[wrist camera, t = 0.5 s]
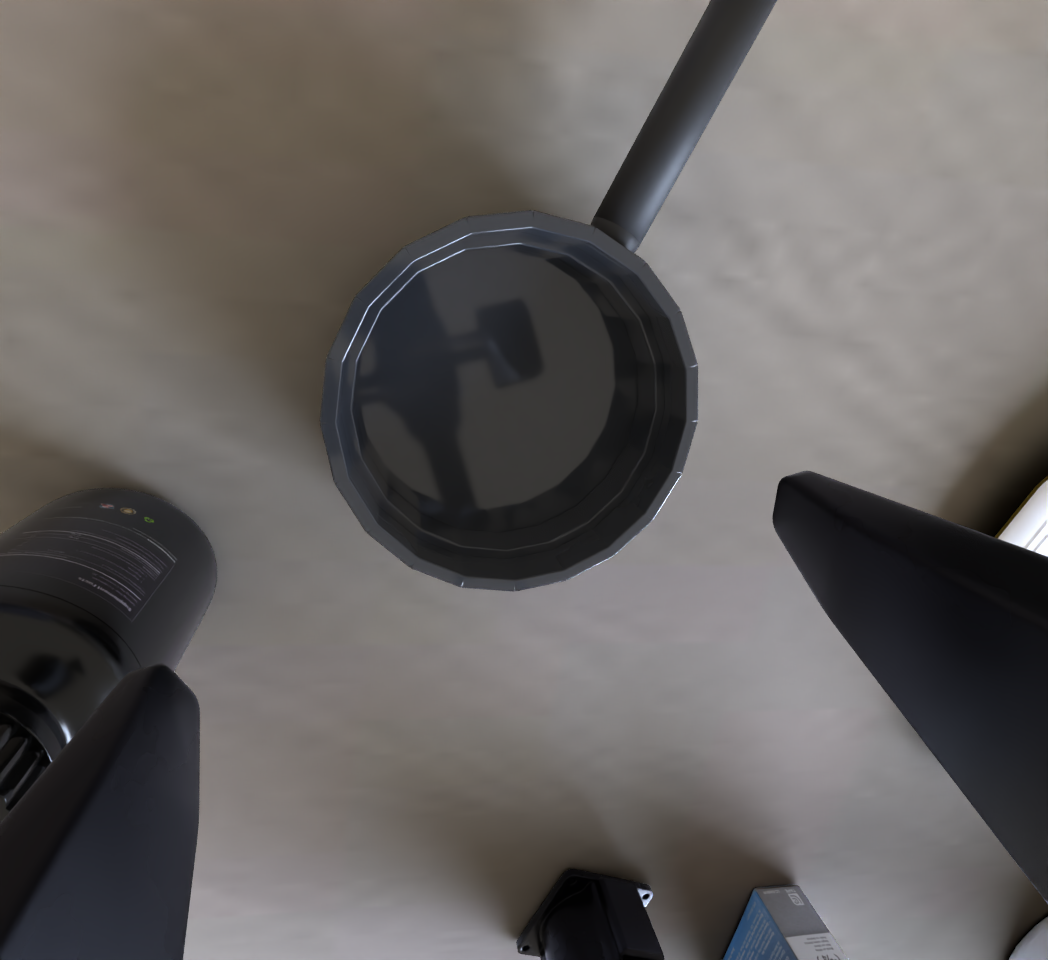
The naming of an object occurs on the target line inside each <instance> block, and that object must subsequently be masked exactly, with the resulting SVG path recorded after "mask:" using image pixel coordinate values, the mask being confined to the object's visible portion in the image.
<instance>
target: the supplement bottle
mask: <svg viewBox="0 0 1048 960" xmlns="http://www.w3.org/2000/svg"><path fill="white" fill-rule="evenodd" d="M216 582H217V566H216V560H215V555H214V552H213V550H212V547H211V545H210V543H209V541H208V539H207V537H206V536H205V534H204V533H203V531H202V530H201V529H200V528H199V526H198V525H197V524H196V523H195V522H194V521H193V520H192V519H191V518H190V517H189V516H187V515H186V514H185V513H184V512H182V511H181V510H180V509H178V508H177V507H175V506H173V505H172V504H170V503H168V502H166V501H164V500H162V499H160V498H157V497H155V496H152V495H149V494H146V493H143V492H138V491H134V490H127V489H118V488H100V489H90V490H85V491H79V492H76V493H72V494H69V495H66V496H64V497H61V498H59V499H57V500H55V501H53V502H51V503H49V504H47V505H45V506H44V507H42V508H41V509H39V510H37V511H36V512H34V513H33V514H31V515H30V516H28V517H26V518H25V519H23V520H22V521H20V522H19V523H17V524H16V525H14V526H13V527H11V528H10V529H8V530H6V531H5V532H3V533H2V534H0V823H1V822H2V820H3V819H4V818H5V817H6V816H7V814H8V813H9V812H10V811H11V810H12V809H13V807H14V806H15V805H16V804H17V803H18V801H19V800H20V799H21V798H22V797H23V796H24V794H25V793H26V792H27V791H28V790H29V788H30V787H31V786H32V785H33V784H34V783H35V781H36V780H37V779H38V778H39V777H40V775H41V774H42V773H43V772H44V771H45V770H46V768H47V767H48V766H49V765H50V764H51V762H52V761H53V760H54V759H55V758H56V757H57V755H58V754H59V753H60V752H61V751H62V749H63V748H64V747H65V746H66V745H67V744H68V742H69V741H70V740H71V739H72V738H73V736H74V735H75V734H76V733H77V732H78V731H79V729H80V728H81V727H82V726H83V725H84V723H85V722H86V721H87V720H88V719H89V718H90V716H91V715H92V714H93V713H94V712H95V710H96V709H97V708H98V707H99V706H100V704H101V703H102V702H103V701H104V700H105V699H106V697H107V696H108V695H109V694H110V693H111V691H112V690H113V689H114V688H115V687H116V686H117V684H118V683H119V682H120V681H121V680H122V679H123V678H124V677H125V676H126V675H127V674H128V673H130V672H132V671H134V670H137V669H141V668H144V667H147V666H151V665H154V664H160V663H162V664H165V665H167V666H169V667H170V668H171V669H172V670H173V671H175V669H176V667H177V665H178V663H179V661H180V660H181V658H182V656H183V654H184V652H185V650H186V648H187V647H188V645H189V643H190V641H191V639H192V637H193V635H194V634H195V632H196V630H197V628H198V626H199V624H200V622H201V621H202V619H203V617H204V615H205V613H206V611H207V609H208V607H209V605H210V603H211V600H212V598H213V595H214V592H215V588H216Z"/></svg>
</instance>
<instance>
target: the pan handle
mask: <svg viewBox="0 0 1048 960" xmlns="http://www.w3.org/2000/svg"><path fill="white" fill-rule="evenodd" d="M776 2H777V0H711V1H710V3H709V5H708V7H707V9H706V10H705V12H704V14H703V16H702V18H701V20H700V22H699V23H698V25H697V27H696V29H695V31H694V33H693V34H692V36H691V38H690V40H689V42H688V44H687V46H686V47H685V49H684V51H683V53H682V55H681V57H680V59H679V60H678V62H677V64H676V66H675V68H674V70H673V72H672V73H671V75H670V77H669V79H668V81H667V83H666V84H665V86H664V88H663V90H662V92H661V94H660V96H659V97H658V99H657V101H656V103H655V105H654V107H653V109H652V110H651V112H650V114H649V116H648V118H647V120H646V122H645V123H644V125H643V127H642V129H641V131H640V133H639V134H638V136H637V138H636V140H635V142H634V144H633V146H632V147H631V149H630V151H629V153H628V155H627V157H626V159H625V160H624V162H623V164H622V166H621V168H620V170H619V171H618V173H617V175H616V177H615V179H614V181H613V183H612V184H611V186H610V188H609V190H608V192H607V194H606V196H605V197H604V199H603V201H602V203H601V205H600V207H599V209H598V210H597V212H596V214H595V216H594V218H593V220H592V222H591V225H592V226H594V227H597V228H598V229H600V230H601V231H603V232H604V233H605V234H607V235H608V236H610V237H611V238H613V239H614V240H615V241H617V242H618V243H620V244H621V245H623V246H624V247H626V248H627V249H628V250H630V251H631V252H633V253H634V252H635V251H636V250H637V248H638V247H639V245H640V244H641V242H642V240H643V238H644V236H645V235H646V233H647V231H648V229H649V228H650V226H651V224H652V222H653V220H654V219H655V217H656V215H657V213H658V212H659V210H660V208H661V206H662V204H663V203H664V201H665V199H666V197H667V195H668V194H669V192H670V190H671V188H672V187H673V185H674V183H675V181H676V179H677V178H678V176H679V174H680V172H681V171H682V169H683V167H684V165H685V163H686V162H687V160H688V158H689V156H690V155H691V153H692V151H693V149H694V147H695V146H696V144H697V142H698V140H699V139H700V137H701V135H702V133H703V131H704V130H705V128H706V126H707V124H708V123H709V121H710V119H711V117H712V115H713V114H714V112H715V110H716V108H717V107H718V105H719V103H720V101H721V99H722V98H723V96H724V94H725V92H726V90H727V89H728V87H729V85H730V83H731V82H732V80H733V78H734V76H735V74H736V73H737V71H738V69H739V67H740V66H741V64H742V62H743V60H744V58H745V57H746V55H747V53H748V51H749V50H750V48H751V46H752V44H753V42H754V41H755V39H756V37H757V35H758V34H759V32H760V30H761V28H762V26H763V25H764V23H765V21H766V19H767V18H768V16H769V14H770V12H771V10H772V9H773V7H774V5H775V3H776Z"/></svg>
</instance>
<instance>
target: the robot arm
mask: <svg viewBox="0 0 1048 960" xmlns="http://www.w3.org/2000/svg"><path fill="white" fill-rule="evenodd" d="M773 525H774V528H775V531H776V533H777V534H778V536H779V538H780V539H781V541H782V543H783V544H784V546H785V548H786V549H787V551H788V552H789V554H790V556H791V557H792V559H793V561H794V562H795V564H796V566H797V567H798V569H799V571H800V572H801V574H802V575H803V577H804V579H805V580H806V582H807V584H808V585H809V587H810V589H811V590H812V592H813V594H814V595H815V597H816V598H817V600H818V602H819V603H820V605H821V606H822V608H823V609H824V611H825V612H826V614H827V615H828V617H829V618H830V619H831V621H832V622H833V624H834V625H835V626H836V628H837V629H838V630H839V632H840V633H841V634H842V636H843V637H844V638H845V639H846V641H847V642H848V643H849V645H850V646H851V647H852V649H853V650H854V651H855V653H856V654H857V655H858V656H859V658H860V659H861V660H862V662H863V663H864V664H865V666H866V667H867V668H868V670H869V671H870V672H871V673H872V675H873V676H874V677H875V679H876V680H877V681H878V683H879V684H880V685H881V687H882V688H883V689H884V690H885V692H886V693H887V694H888V696H889V697H890V698H891V700H892V701H893V702H894V704H895V705H896V706H897V707H898V709H899V710H900V711H901V713H902V714H903V715H904V717H905V718H906V719H907V721H908V722H909V723H910V724H911V726H912V727H913V728H914V730H915V731H916V732H917V734H918V735H919V736H920V738H921V739H922V740H923V741H924V743H925V744H926V745H927V747H928V748H929V749H930V751H931V752H932V753H933V755H934V756H935V757H936V758H937V760H938V761H939V762H940V764H941V765H942V766H943V768H944V769H945V770H946V772H947V773H948V774H949V775H950V777H951V778H952V779H953V781H954V782H955V783H956V785H957V786H958V787H959V789H960V790H961V791H962V792H963V794H964V795H965V796H966V798H967V799H968V800H969V802H970V803H971V804H972V806H973V807H974V808H975V809H976V811H977V812H978V813H979V815H980V816H981V817H982V819H983V820H984V821H985V823H986V824H987V825H988V826H989V828H990V829H991V830H992V832H993V833H994V834H995V836H996V837H997V838H998V840H999V841H1000V842H1001V843H1002V845H1003V846H1004V847H1005V849H1006V850H1007V851H1008V853H1009V854H1010V855H1011V857H1012V858H1013V859H1014V860H1015V862H1016V863H1017V864H1018V866H1019V867H1020V868H1021V870H1022V871H1023V872H1024V874H1025V875H1026V876H1027V877H1028V879H1029V880H1030V881H1031V883H1032V884H1033V885H1034V887H1035V888H1036V889H1037V891H1038V892H1039V893H1040V894H1041V896H1042V897H1043V898H1044V900H1045V901H1046V902H1047V904H1048V556H1045V555H1042V554H1039V553H1037V552H1034V551H1031V550H1028V549H1026V548H1023V547H1020V546H1017V545H1014V544H1012V543H1009V542H1006V541H1003V540H1001V539H998V538H995V537H992V536H989V535H987V534H984V533H981V532H978V531H976V530H973V529H970V528H967V527H964V526H962V525H959V524H956V523H953V522H950V521H948V520H945V519H942V518H939V517H937V516H934V515H931V514H928V513H925V512H923V511H920V510H917V509H914V508H912V507H909V506H906V505H903V504H900V503H898V502H895V501H892V500H889V499H887V498H884V497H881V496H878V495H875V494H873V493H870V492H867V491H864V490H862V489H859V488H856V487H853V486H850V485H848V484H845V483H842V482H839V481H836V480H834V479H831V478H828V477H825V476H823V475H820V474H817V473H814V472H811V471H803V472H799V473H796V474H793V475H789V476H786V477H784V478H782V479H781V481H780V482H779V484H778V488H777V494H776V500H775V505H774V511H773ZM199 771H200V708H199V703H198V700H197V698H196V696H195V694H194V693H193V692H192V691H191V690H190V689H189V687H188V686H187V685H186V684H185V683H184V682H183V681H182V680H181V679H180V678H179V677H178V676H177V675H176V674H175V672H174V671H173V670H172V669H171V668H170V667H169V666H167V665H165V664H162V663H160V664H154V665H151V666H147V667H144V668H141V669H137V670H134V671H132V672H130V673H128V674H127V675H126V676H125V677H124V678H123V679H122V680H121V681H120V682H119V683H118V684H117V686H116V687H115V688H114V689H113V690H112V691H111V693H110V694H109V695H108V696H107V697H106V699H105V700H104V701H103V702H102V703H101V704H100V706H99V707H98V708H97V709H96V710H95V712H94V713H93V714H92V715H91V716H90V718H89V719H88V720H87V721H86V722H85V723H84V725H83V726H82V727H81V728H80V729H79V731H78V732H77V733H76V734H75V735H74V736H73V738H72V739H71V740H70V741H69V742H68V744H67V745H66V746H65V747H64V748H63V749H62V751H61V752H60V753H59V754H58V755H57V757H56V758H55V759H54V760H53V761H52V762H51V764H50V765H49V766H48V767H47V768H46V770H45V771H44V772H43V773H42V774H41V775H40V777H39V778H38V779H37V780H36V781H35V783H34V784H33V785H32V786H31V787H30V788H29V790H28V791H27V792H26V793H25V794H24V796H23V797H22V798H21V799H20V800H19V801H18V803H17V804H16V805H15V806H14V807H13V809H12V810H11V811H10V812H9V813H8V814H7V816H6V817H5V818H4V819H3V820H2V822H1V823H0V960H183V954H184V945H185V937H186V928H187V920H188V912H189V903H190V895H191V887H192V878H193V870H194V861H195V853H196V845H197V834H198V824H199ZM652 897H653V892H652V890H651V887H650V886H649V885H647V884H643V883H638V882H633V881H628V880H624V879H619V878H614V877H609V876H605V875H600V874H595V873H590V872H585V871H581V870H576V869H570V870H567V871H565V872H564V873H563V875H562V876H561V878H560V879H559V880H558V882H557V883H556V885H555V886H554V888H553V889H552V891H551V892H550V893H549V895H548V896H547V898H546V899H545V901H544V902H543V904H542V905H541V907H540V908H539V909H538V911H537V912H536V914H535V915H534V917H533V918H532V920H531V921H530V922H529V924H528V925H527V927H526V928H525V930H524V931H523V933H522V934H521V936H520V937H519V938H518V940H517V942H516V943H517V949H518V952H519V953H520V954H525V955H532V956H539V957H540V958H541V960H664V955H663V952H662V949H661V947H660V944H659V942H658V939H657V937H656V934H655V932H654V929H653V927H652V924H651V922H650V919H649V917H648V914H647V912H646V909H645V907H646V905H647V904H648V903H649V901H650V900H651V899H652Z"/></svg>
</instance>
